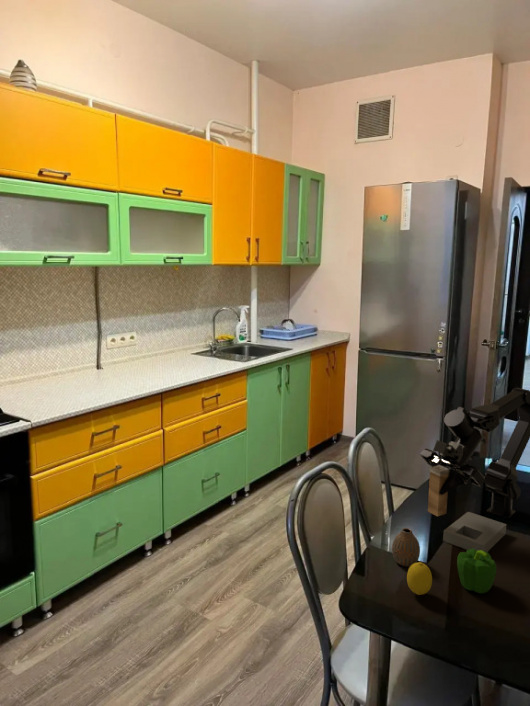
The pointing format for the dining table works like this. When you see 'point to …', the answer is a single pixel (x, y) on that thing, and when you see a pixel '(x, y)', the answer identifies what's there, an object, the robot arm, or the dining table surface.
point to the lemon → (419, 578)
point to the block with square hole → (474, 532)
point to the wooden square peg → (437, 490)
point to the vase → (406, 548)
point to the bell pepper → (476, 570)
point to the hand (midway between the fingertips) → (434, 491)
